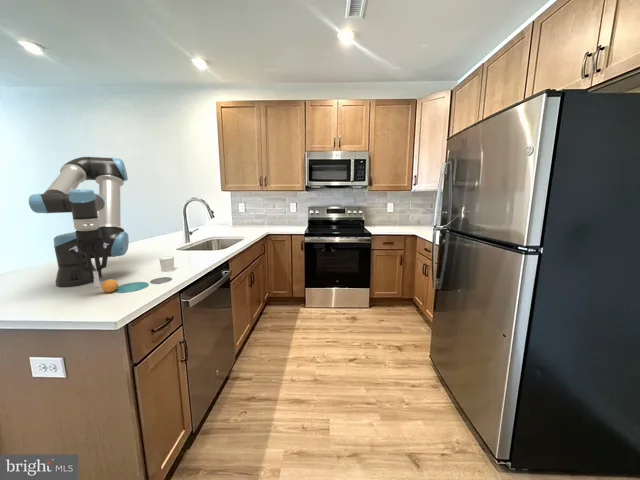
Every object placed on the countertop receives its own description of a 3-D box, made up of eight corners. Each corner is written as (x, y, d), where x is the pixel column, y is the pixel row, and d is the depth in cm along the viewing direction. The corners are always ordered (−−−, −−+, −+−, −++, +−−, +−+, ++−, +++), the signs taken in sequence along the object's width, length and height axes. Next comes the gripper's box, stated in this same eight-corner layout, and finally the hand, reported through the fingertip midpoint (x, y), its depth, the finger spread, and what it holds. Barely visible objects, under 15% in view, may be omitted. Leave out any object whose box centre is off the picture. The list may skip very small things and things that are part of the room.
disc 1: (105, 291, 113) (104, 291, 113) (131, 281, 126) (131, 281, 125) (130, 293, 110) (130, 293, 110) (155, 283, 123) (155, 282, 123)
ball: (96, 282, 110) (111, 274, 113) (102, 290, 113) (116, 282, 117) (103, 289, 108) (117, 281, 111) (108, 297, 111) (122, 289, 115)
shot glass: (164, 268, 146) (163, 256, 145) (177, 268, 147) (176, 256, 146) (158, 272, 140) (156, 259, 138) (171, 272, 140) (170, 259, 139)
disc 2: (145, 283, 123) (145, 282, 123) (160, 277, 132) (160, 276, 132) (162, 284, 122) (161, 284, 122) (176, 278, 130) (176, 277, 130)
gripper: (66, 232, 97) (77, 292, 102) (110, 228, 107) (119, 283, 112) (63, 230, 102) (74, 287, 107) (106, 226, 112) (114, 279, 117)
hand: (97, 285), depth 109 cm, fingers closed
